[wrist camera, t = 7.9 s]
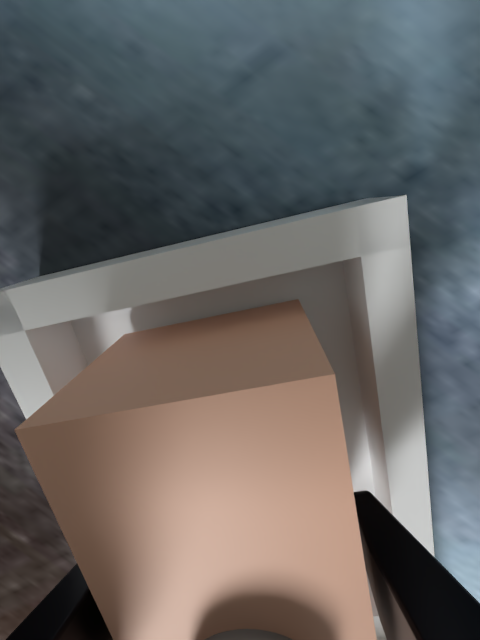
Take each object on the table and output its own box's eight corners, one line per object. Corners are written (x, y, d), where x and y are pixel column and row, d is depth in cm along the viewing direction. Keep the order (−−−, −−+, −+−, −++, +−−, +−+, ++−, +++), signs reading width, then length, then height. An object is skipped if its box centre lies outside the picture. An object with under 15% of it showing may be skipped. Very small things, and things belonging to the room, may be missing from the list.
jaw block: (298, 298, 8) (357, 419, 3) (339, 526, 10) (414, 815, 5) (124, 334, 8) (-50, 485, 4) (195, 544, 10) (140, 823, 6)
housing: (365, 198, 8) (406, 195, 6) (424, 727, 15) (455, 820, 13) (38, 276, 9) (-34, 299, 7) (232, 739, 16) (228, 828, 14)
